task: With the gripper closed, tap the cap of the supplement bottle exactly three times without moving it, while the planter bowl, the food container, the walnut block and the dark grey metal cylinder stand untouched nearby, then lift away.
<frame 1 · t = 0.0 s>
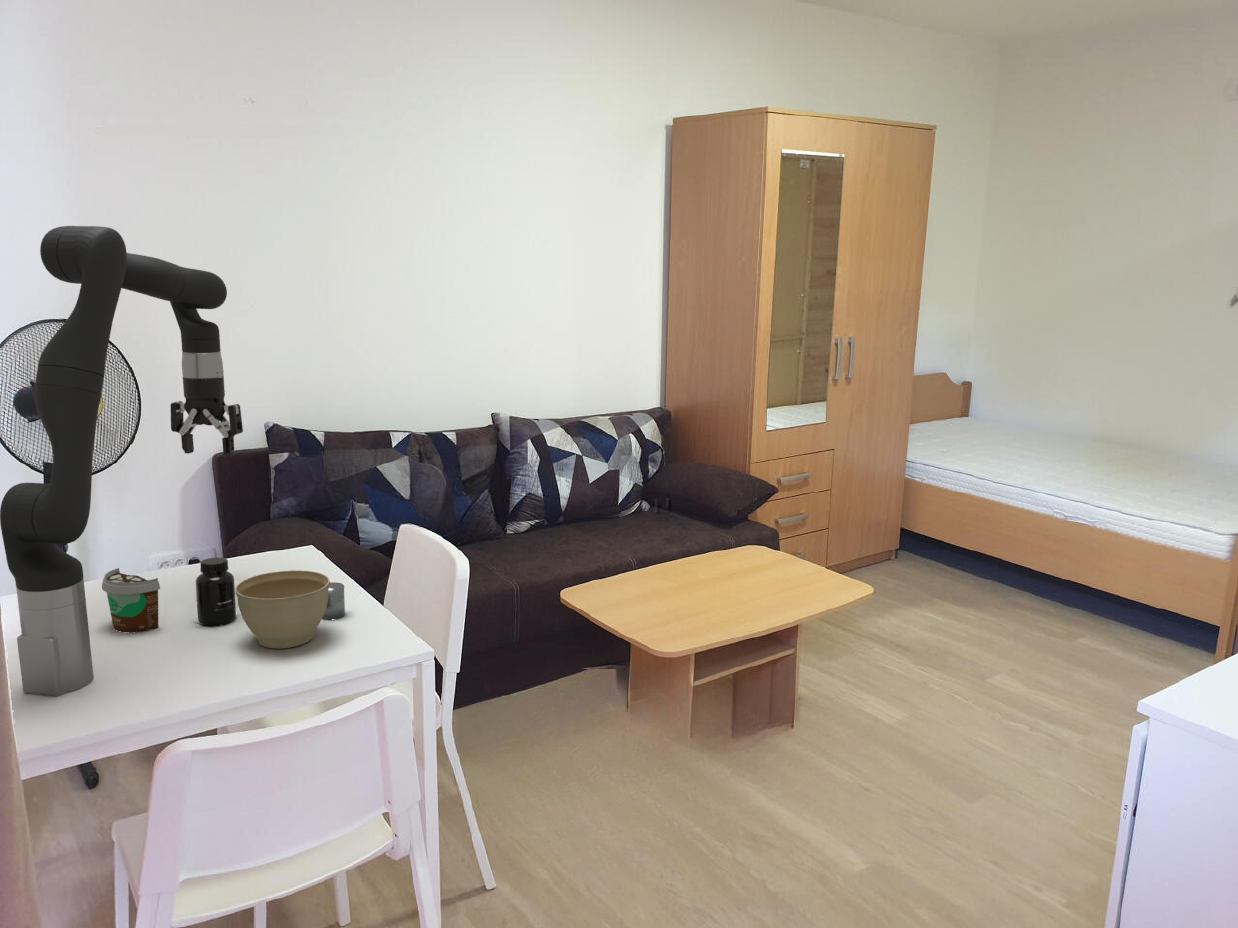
hand: (208, 454, 189), 29 cm above the table, tool pointing down, fingers open, 8 cm apart
walnut block: (296, 607, 187), on the table
food container: (127, 629, 175), on the table
planter bowl: (286, 640, 171), on the table
supplement bottle: (217, 621, 179), on the table
dark grey metal cylinder: (331, 615, 183), on the table
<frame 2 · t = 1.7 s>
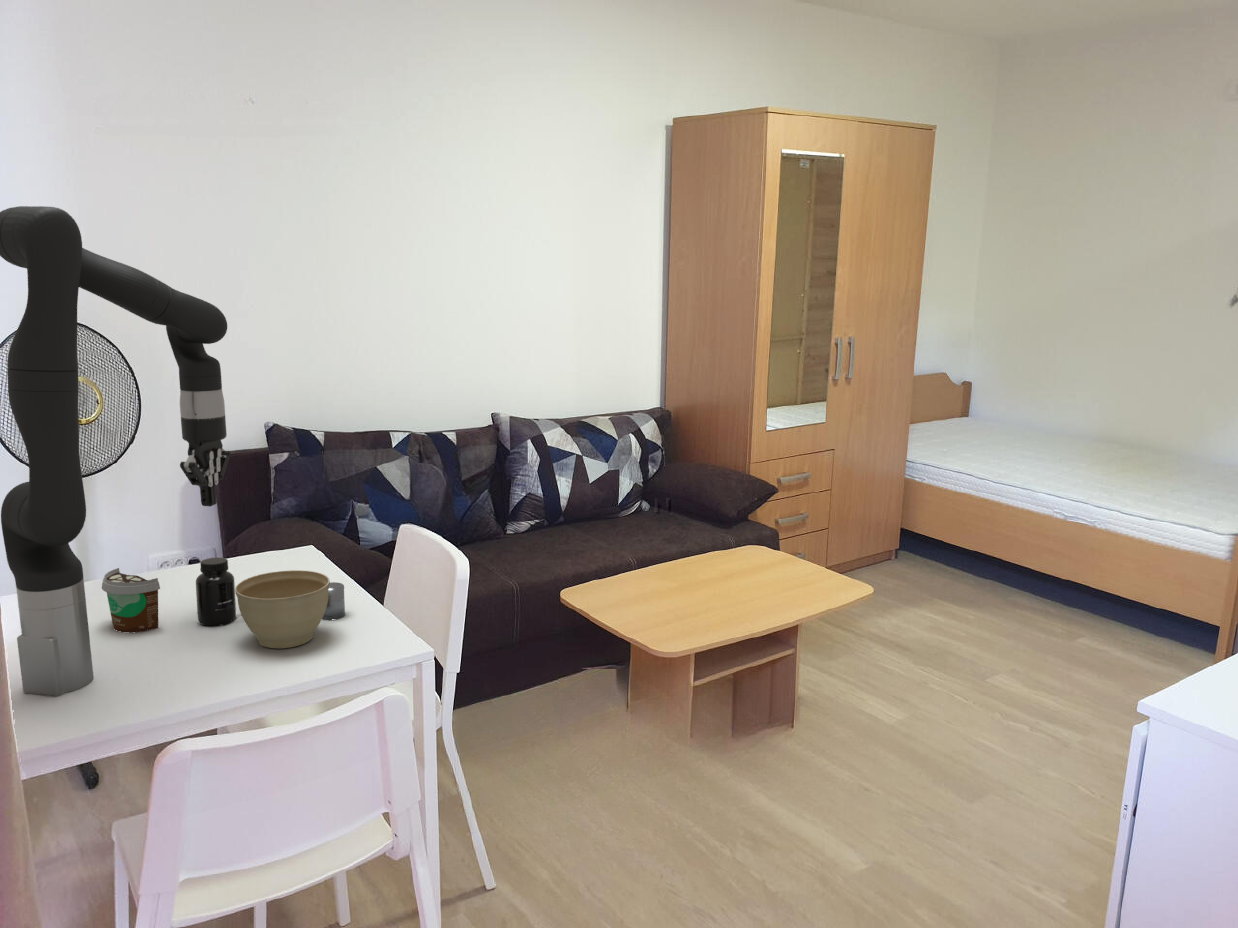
hand: (209, 505, 175), 23 cm above the table, tool pointing down, fingers closed
nothing on the table moved.
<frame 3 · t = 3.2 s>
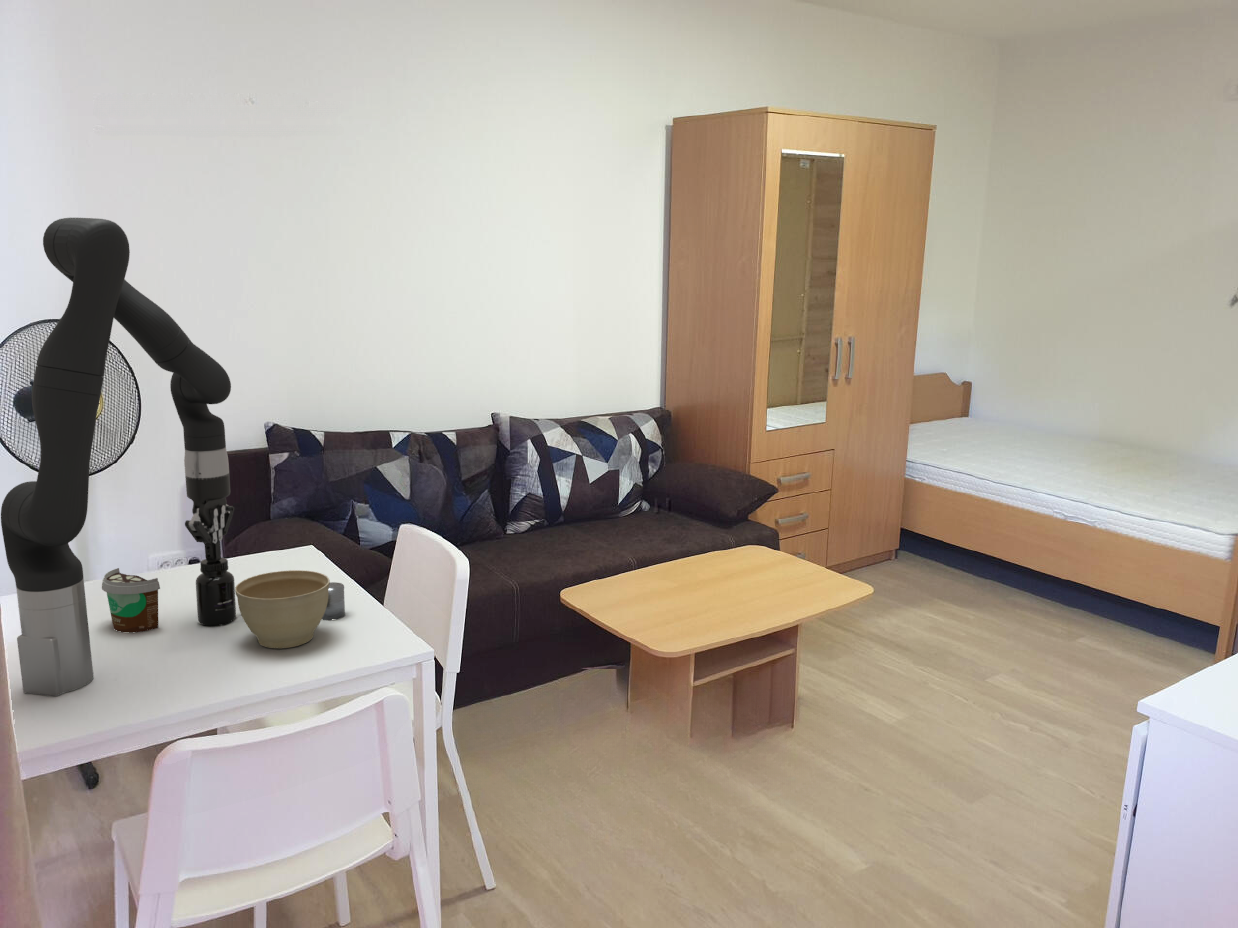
hand: (213, 560, 177), 12 cm above the table, tool pointing down, fingers closed
supplement bottle: (217, 621, 179), on the table, touching gripper
everything else where it was.
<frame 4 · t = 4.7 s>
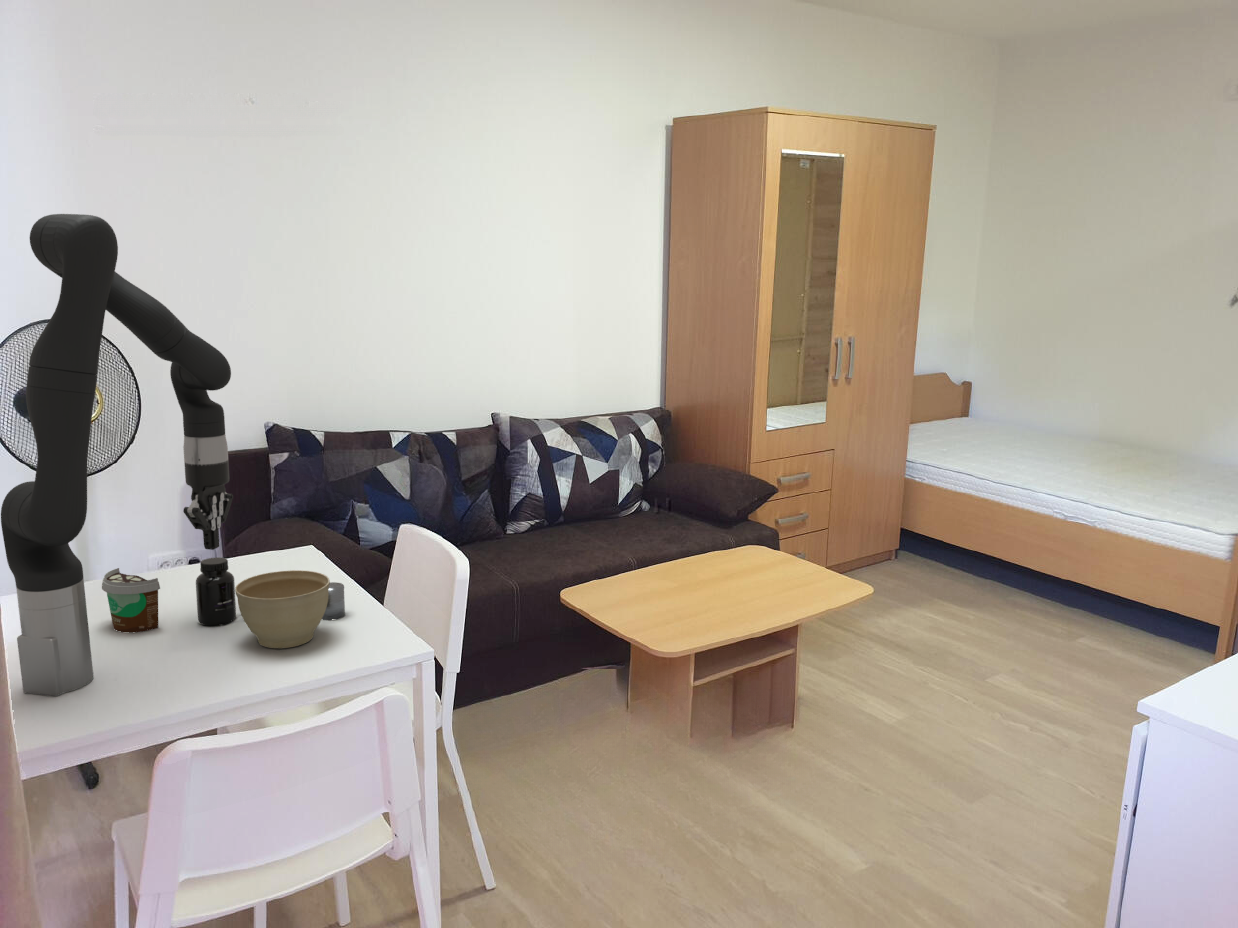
hand: (212, 548, 176), 14 cm above the table, tool pointing down, fingers closed
supplement bottle: (217, 621, 179), on the table
everything else where it was.
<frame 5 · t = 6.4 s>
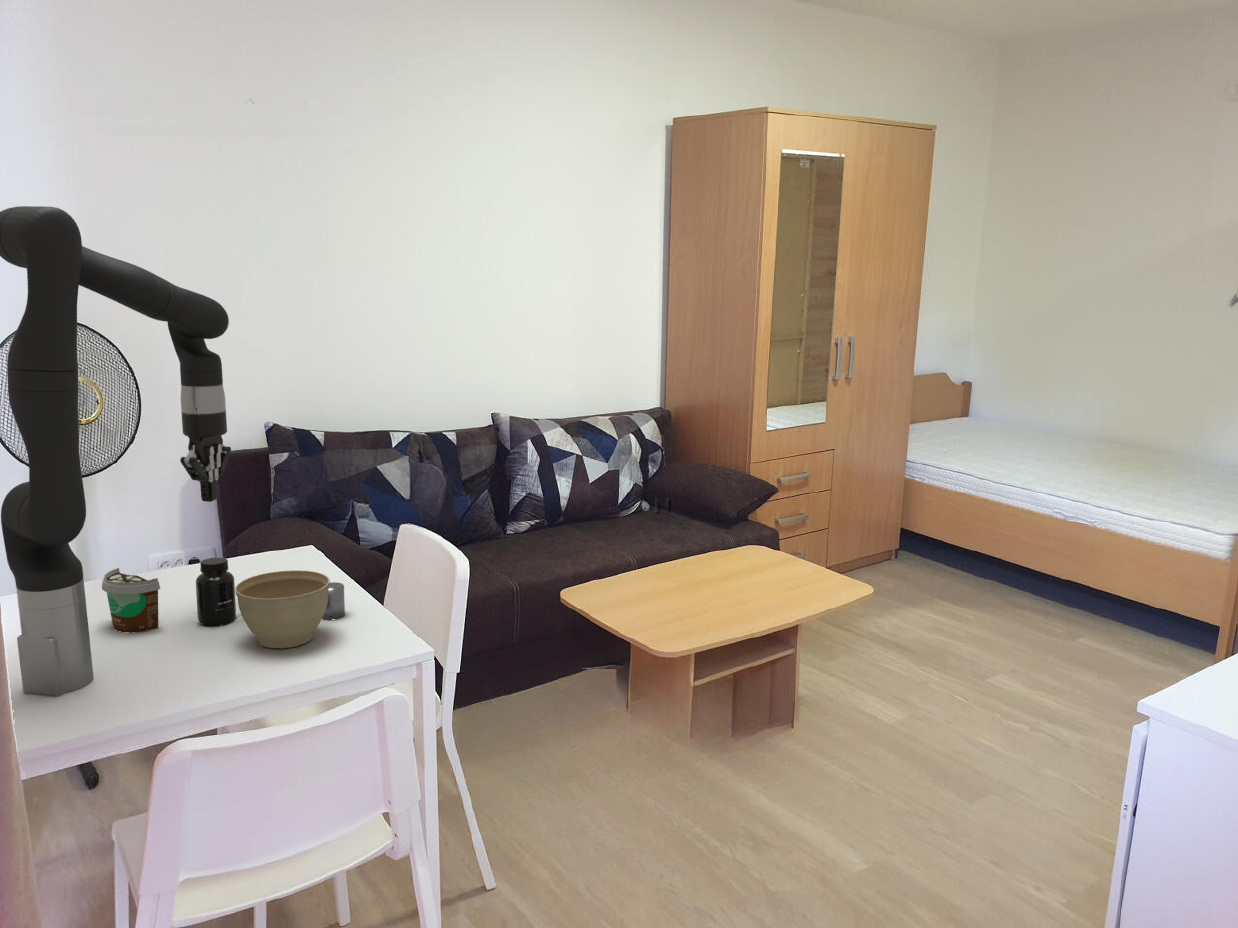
hand: (209, 500, 174), 24 cm above the table, tool pointing down, fingers closed
nothing on the table moved.
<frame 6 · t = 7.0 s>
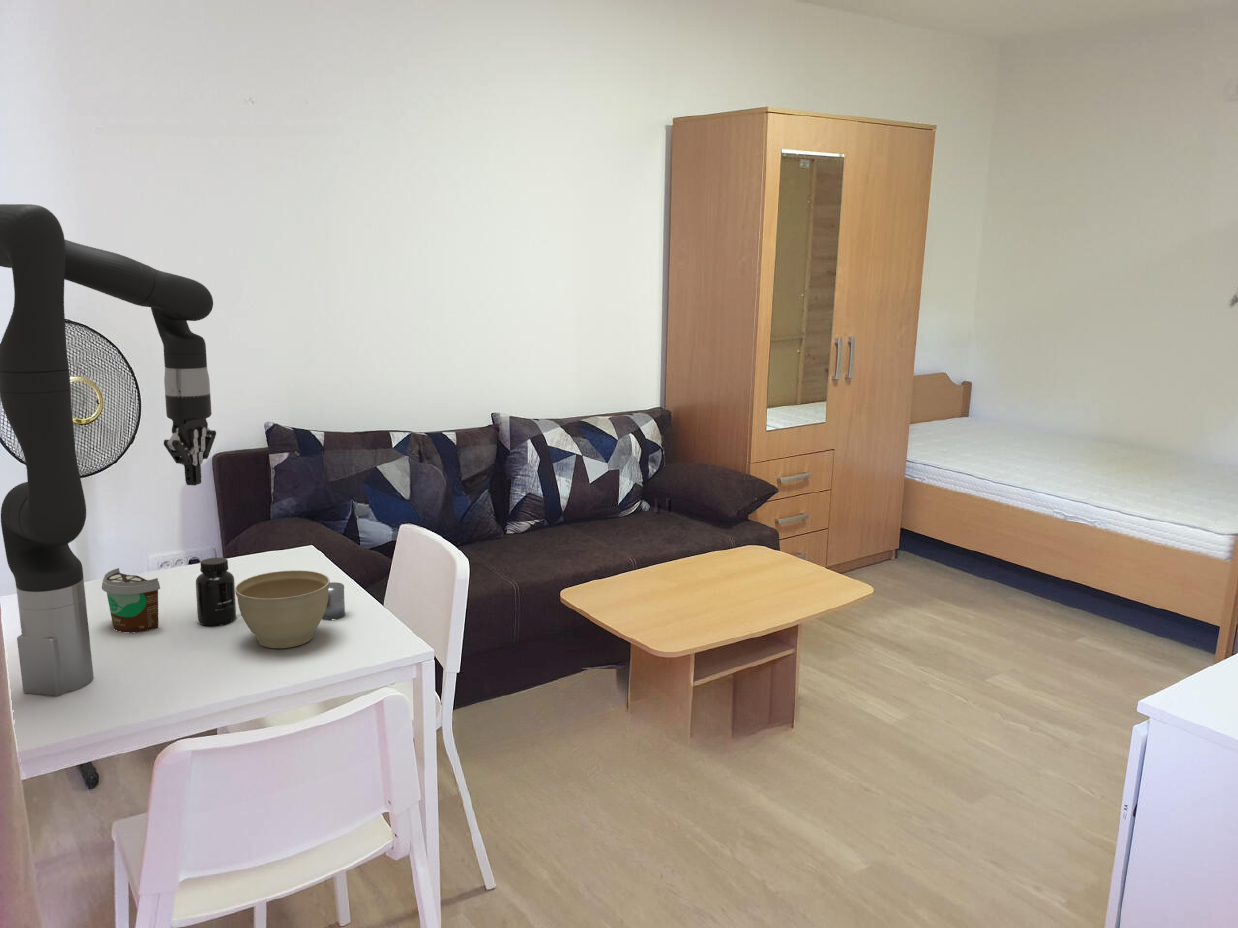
hand: (193, 484, 173), 27 cm above the table, tool pointing down, fingers closed
nothing on the table moved.
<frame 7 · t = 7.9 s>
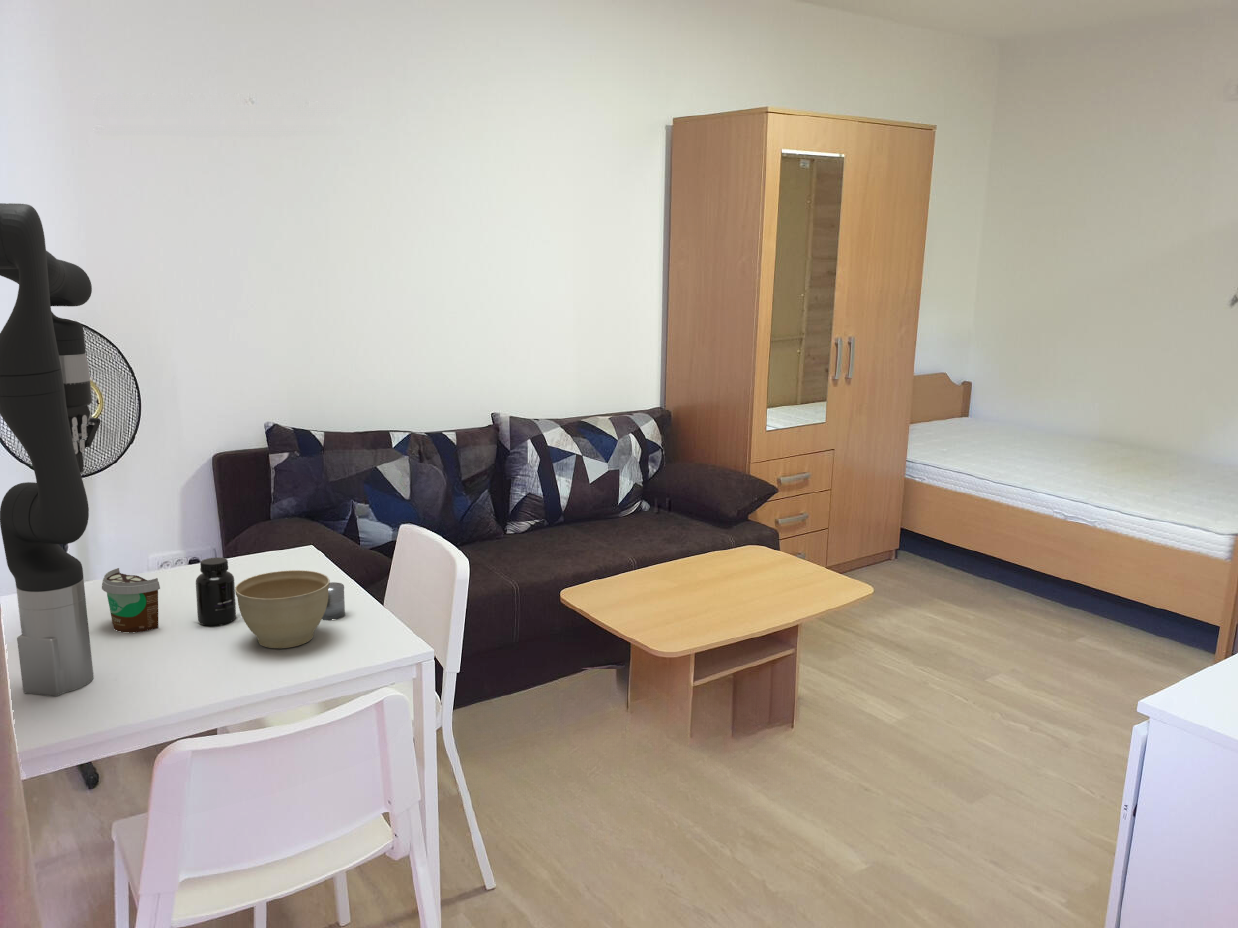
hand: (75, 472, 171), 29 cm above the table, tool pointing down, fingers closed
nothing on the table moved.
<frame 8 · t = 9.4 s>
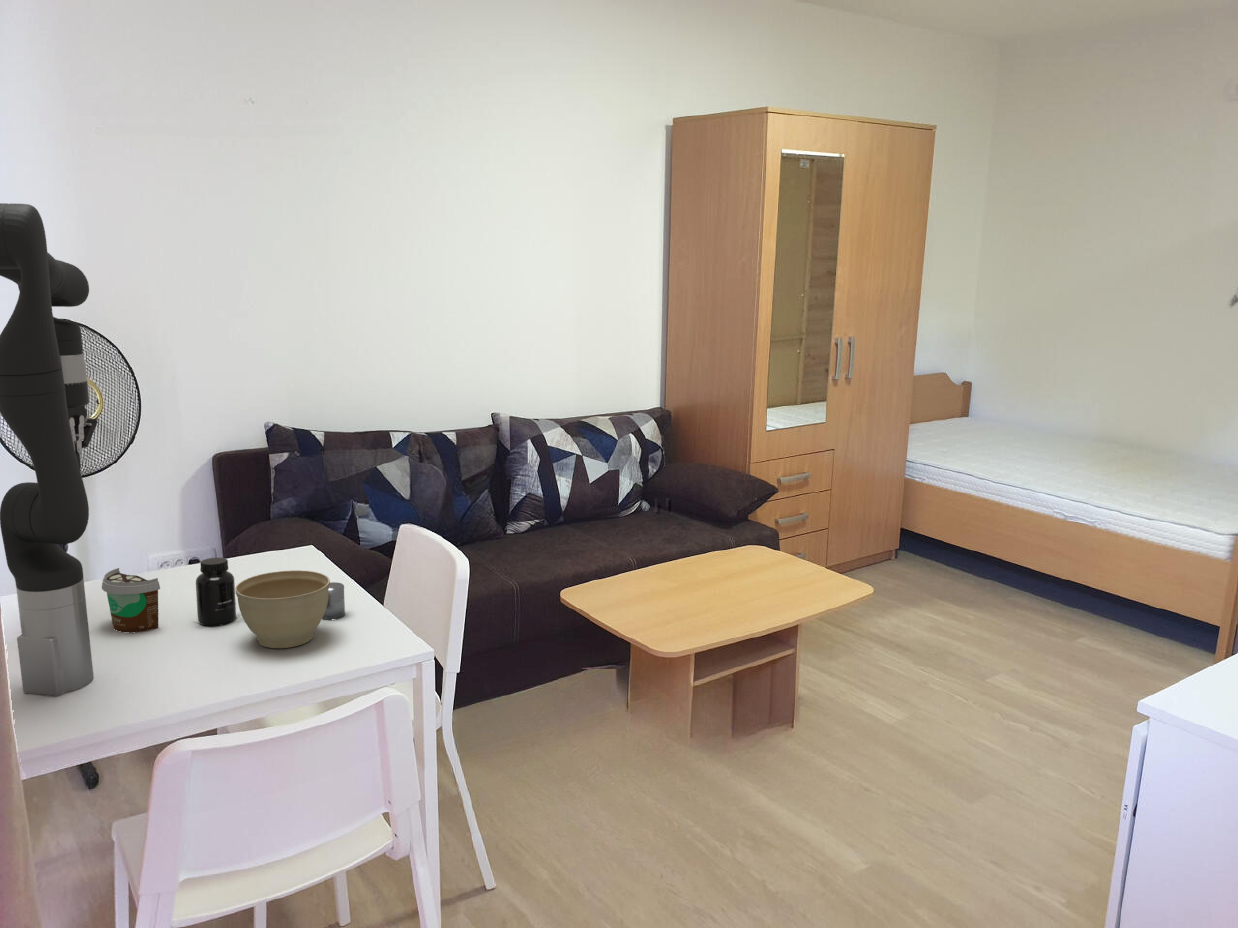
hand: (72, 473, 171), 29 cm above the table, tool pointing down, fingers closed
nothing on the table moved.
at the end: supplement bottle moved 0.2 cm from its start; supplement bottle tilted 0°; the gripper is holding nothing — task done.
